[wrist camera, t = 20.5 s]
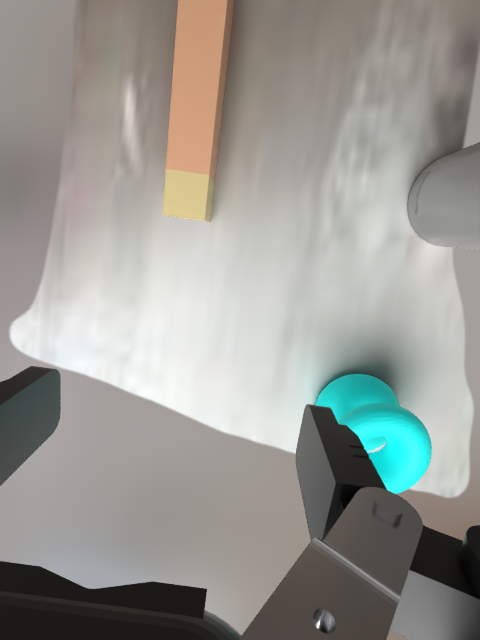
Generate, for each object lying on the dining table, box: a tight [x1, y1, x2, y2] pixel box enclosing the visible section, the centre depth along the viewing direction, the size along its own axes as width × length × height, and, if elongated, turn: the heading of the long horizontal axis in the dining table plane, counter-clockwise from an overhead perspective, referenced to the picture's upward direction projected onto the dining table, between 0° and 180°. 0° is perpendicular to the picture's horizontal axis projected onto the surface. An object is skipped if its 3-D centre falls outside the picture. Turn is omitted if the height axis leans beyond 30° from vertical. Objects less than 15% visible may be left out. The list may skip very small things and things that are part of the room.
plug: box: [163, 0, 234, 222], centre depth 32 cm, size 4×20×5 cm, turn 173°
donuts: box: [315, 374, 432, 494], centre depth 37 cm, size 10×10×10 cm
